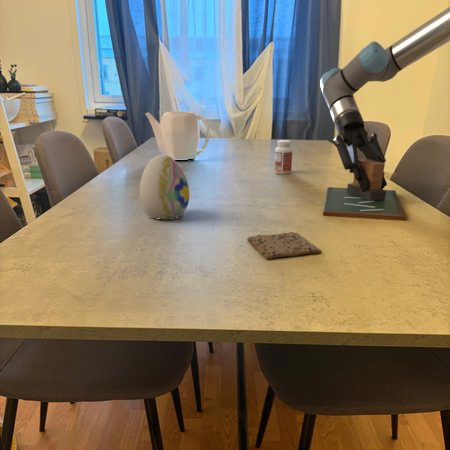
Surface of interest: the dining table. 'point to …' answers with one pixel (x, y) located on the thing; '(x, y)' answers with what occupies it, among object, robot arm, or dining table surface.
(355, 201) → the chalkboard
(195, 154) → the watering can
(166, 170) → the decorative egg
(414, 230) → the dining table surface
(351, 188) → the eraser
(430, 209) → the dining table surface
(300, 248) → the cookie
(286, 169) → the pill bottle
